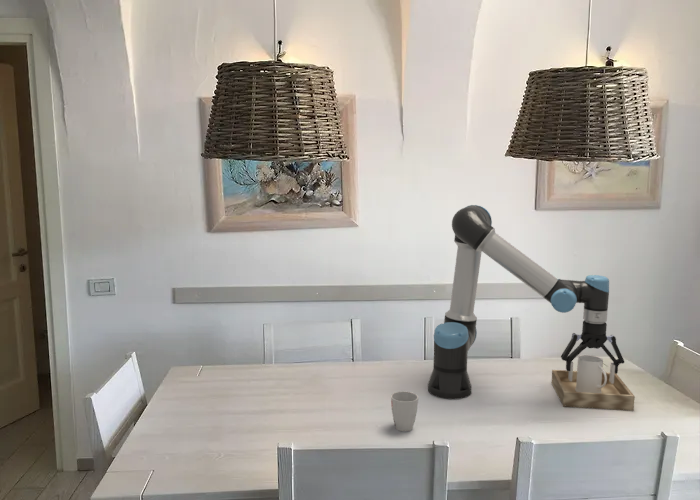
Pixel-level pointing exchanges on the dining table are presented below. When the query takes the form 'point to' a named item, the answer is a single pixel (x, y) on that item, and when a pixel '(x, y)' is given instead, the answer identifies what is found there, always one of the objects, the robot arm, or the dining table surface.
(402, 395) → the cup
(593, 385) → the mug
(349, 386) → the dining table surface
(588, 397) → the tray
